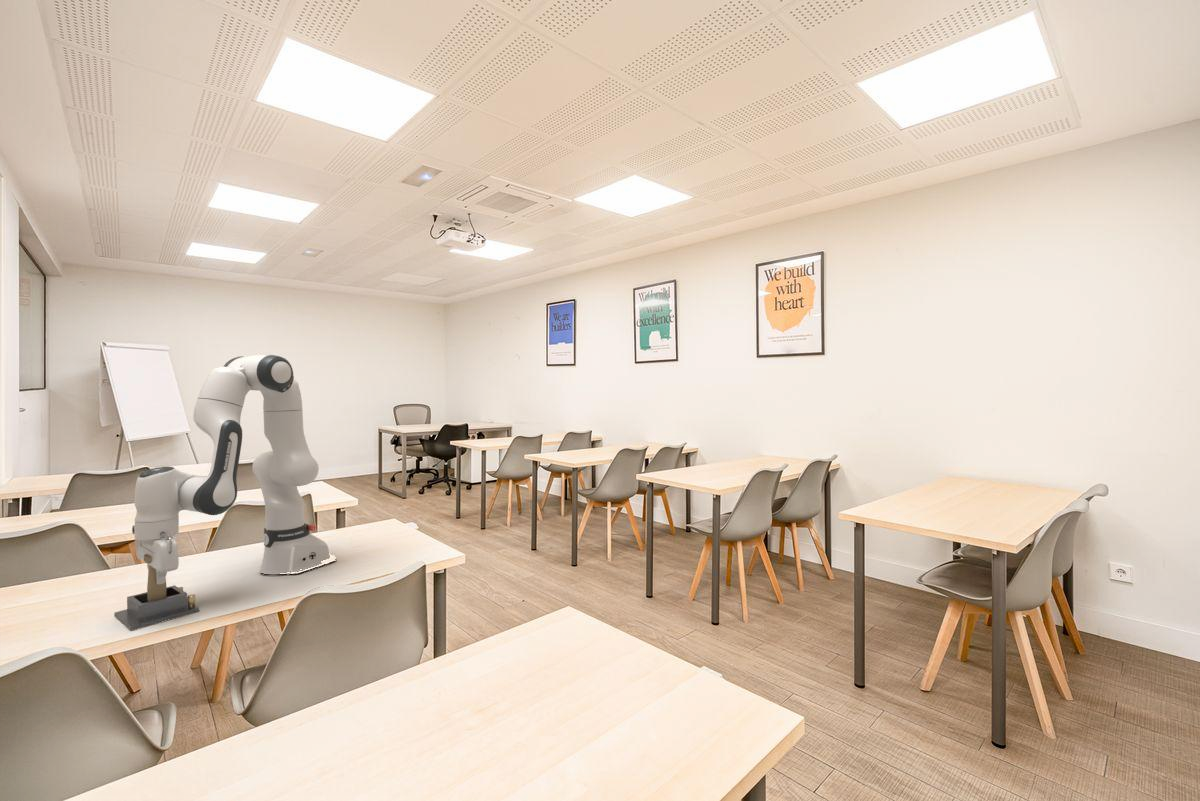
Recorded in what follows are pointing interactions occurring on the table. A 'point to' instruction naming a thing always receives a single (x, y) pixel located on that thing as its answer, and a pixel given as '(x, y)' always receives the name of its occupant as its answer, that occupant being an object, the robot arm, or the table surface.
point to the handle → (152, 588)
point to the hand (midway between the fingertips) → (157, 581)
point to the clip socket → (156, 608)
